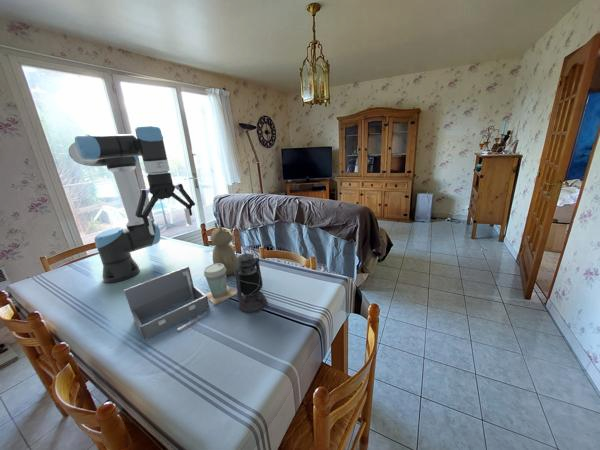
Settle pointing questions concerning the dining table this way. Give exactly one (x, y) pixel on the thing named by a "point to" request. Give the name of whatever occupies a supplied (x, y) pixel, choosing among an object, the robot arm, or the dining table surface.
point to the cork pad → (217, 300)
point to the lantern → (249, 283)
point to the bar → (190, 322)
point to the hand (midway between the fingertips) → (171, 228)
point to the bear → (223, 249)
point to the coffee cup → (216, 279)
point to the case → (164, 301)
